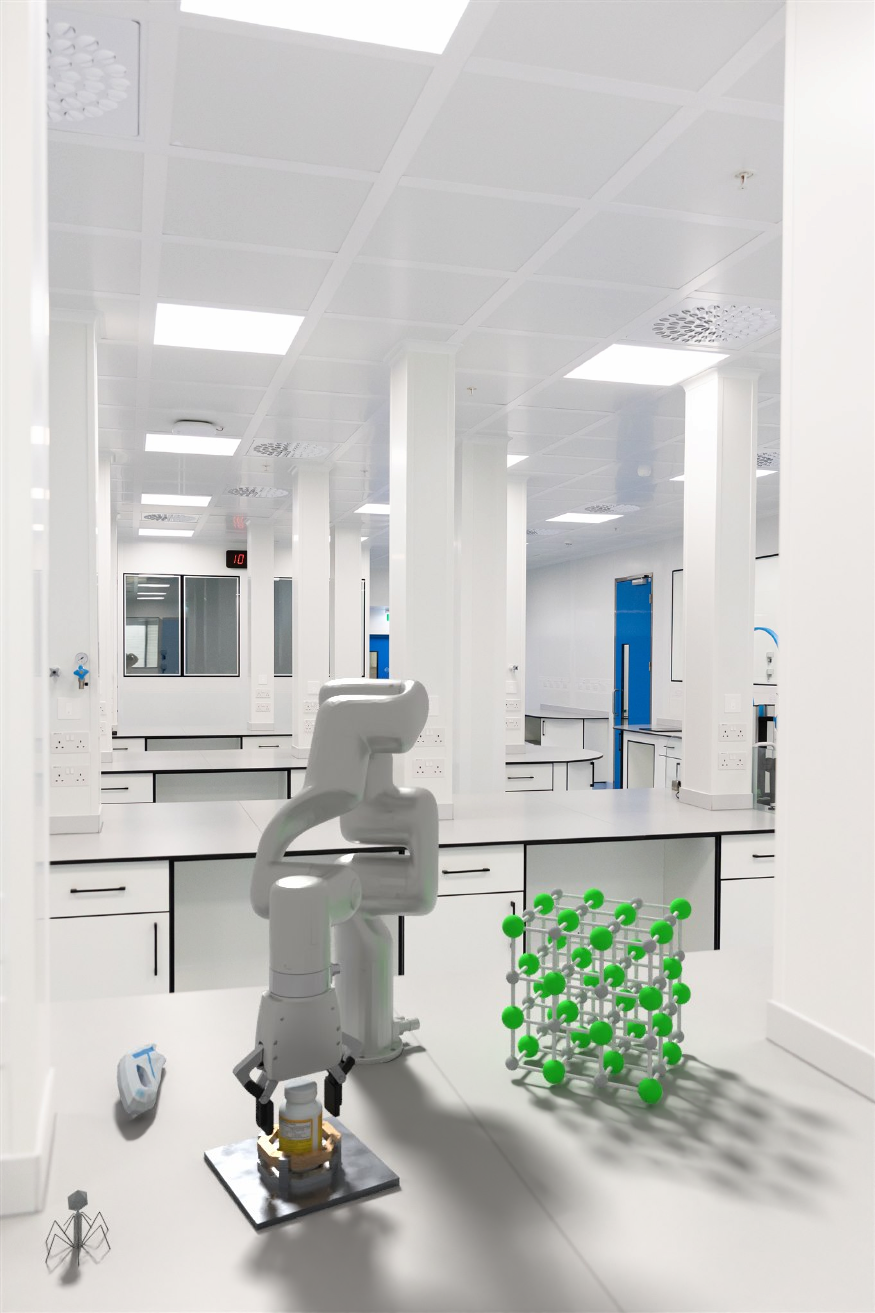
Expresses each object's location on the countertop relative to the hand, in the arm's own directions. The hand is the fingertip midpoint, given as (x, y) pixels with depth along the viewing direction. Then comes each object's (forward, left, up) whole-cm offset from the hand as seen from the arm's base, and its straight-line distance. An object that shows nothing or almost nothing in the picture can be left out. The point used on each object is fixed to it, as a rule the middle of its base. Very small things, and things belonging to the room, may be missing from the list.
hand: (299, 1121), depth 120 cm
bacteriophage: (+27, +2, -7) cm, 27 cm away
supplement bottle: (0, 0, -6) cm, 6 cm away
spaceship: (+8, -28, -7) cm, 30 cm away
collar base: (0, 0, -6) cm, 6 cm away
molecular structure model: (-53, -6, -7) cm, 54 cm away
